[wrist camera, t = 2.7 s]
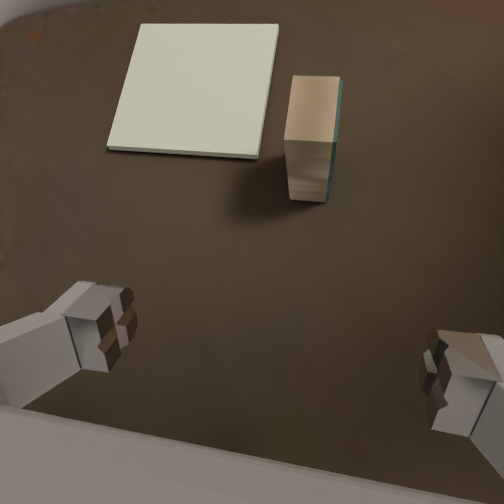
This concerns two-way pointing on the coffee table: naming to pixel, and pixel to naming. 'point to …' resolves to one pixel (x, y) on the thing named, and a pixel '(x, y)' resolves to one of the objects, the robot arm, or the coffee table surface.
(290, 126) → the card deck block
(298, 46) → the coffee table surface
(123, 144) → the sage mat
